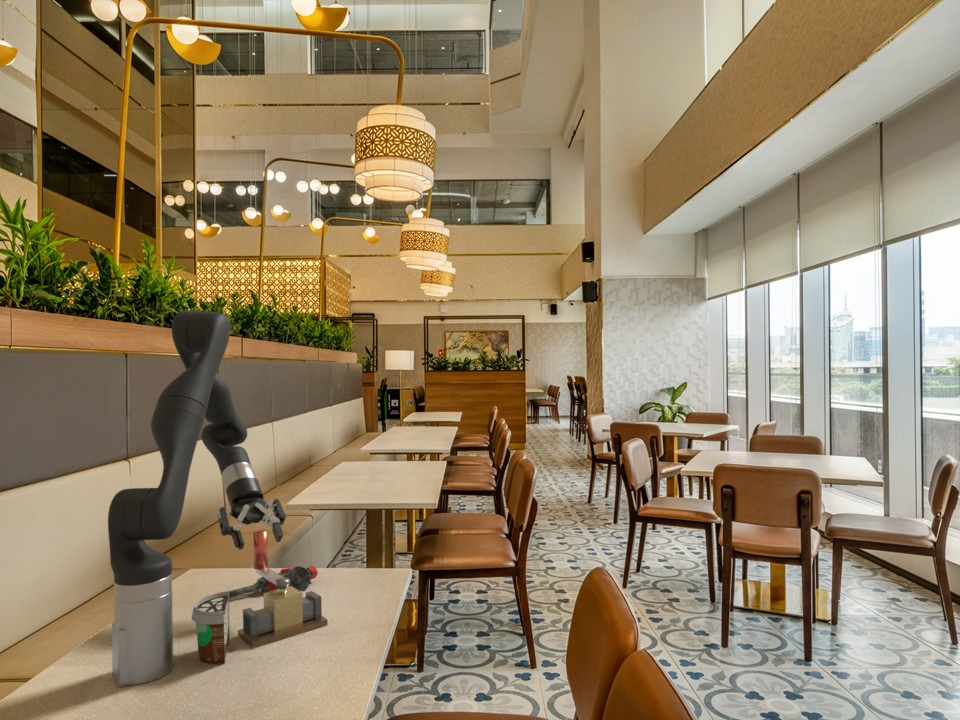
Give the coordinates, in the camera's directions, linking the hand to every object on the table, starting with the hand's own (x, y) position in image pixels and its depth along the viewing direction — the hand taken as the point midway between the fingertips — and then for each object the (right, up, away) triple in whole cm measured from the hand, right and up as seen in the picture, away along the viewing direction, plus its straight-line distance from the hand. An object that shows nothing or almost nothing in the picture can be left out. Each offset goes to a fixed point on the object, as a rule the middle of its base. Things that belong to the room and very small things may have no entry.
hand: (261, 543), depth 136 cm
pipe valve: (+8, -15, -9) cm, 20 cm away
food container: (-3, -16, -20) cm, 25 cm away
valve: (-5, -17, +16) cm, 24 cm away
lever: (+4, -6, -4) cm, 8 cm away
